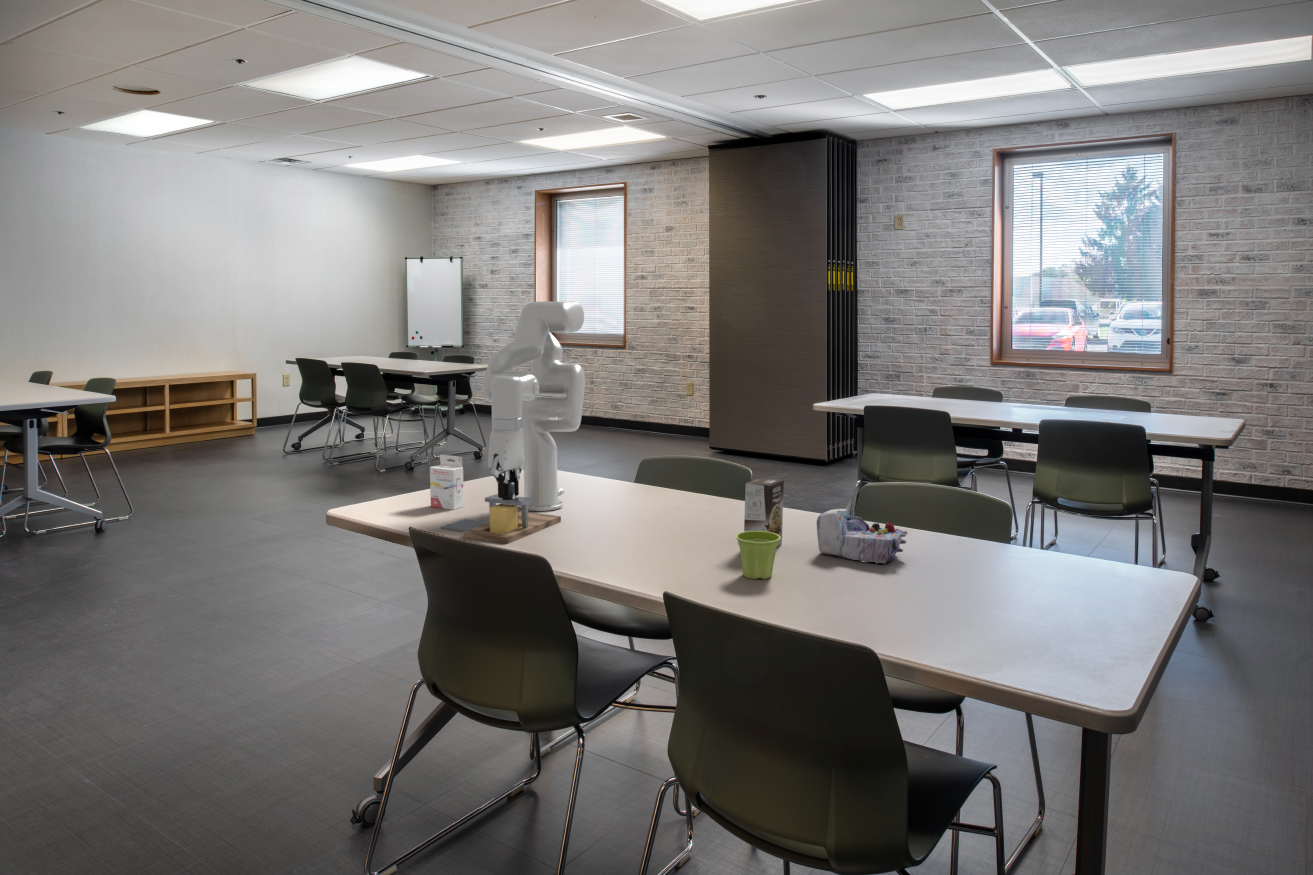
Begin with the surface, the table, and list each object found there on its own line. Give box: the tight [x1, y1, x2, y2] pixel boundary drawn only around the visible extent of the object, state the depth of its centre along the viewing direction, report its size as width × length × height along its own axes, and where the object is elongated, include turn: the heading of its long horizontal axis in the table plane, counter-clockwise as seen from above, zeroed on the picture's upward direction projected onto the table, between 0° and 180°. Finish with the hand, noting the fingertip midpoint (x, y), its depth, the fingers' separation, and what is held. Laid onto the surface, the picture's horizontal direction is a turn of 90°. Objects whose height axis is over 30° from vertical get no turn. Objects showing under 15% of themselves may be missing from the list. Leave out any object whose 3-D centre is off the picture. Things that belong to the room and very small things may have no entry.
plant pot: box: [735, 531, 781, 580], centre depth 183 cm, size 9×9×9 cm
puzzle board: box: [462, 510, 562, 544], centre depth 221 cm, size 25×13×2 cm, turn 155°
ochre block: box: [489, 503, 519, 534], centre depth 217 cm, size 5×5×7 cm
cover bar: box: [484, 481, 532, 528], centre depth 218 cm, size 5×11×11 cm, turn 65°
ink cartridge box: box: [429, 454, 465, 511], centre depth 245 cm, size 9×5×15 cm, turn 65°
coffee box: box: [743, 477, 785, 548], centre depth 205 cm, size 9×6×16 cm
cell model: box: [816, 508, 908, 564], centre depth 198 cm, size 13×11×20 cm
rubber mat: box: [440, 518, 490, 532], centre depth 224 cm, size 10×10×1 cm
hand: (508, 495), depth 218 cm, fingers closed on cover bar, 3 cm apart
